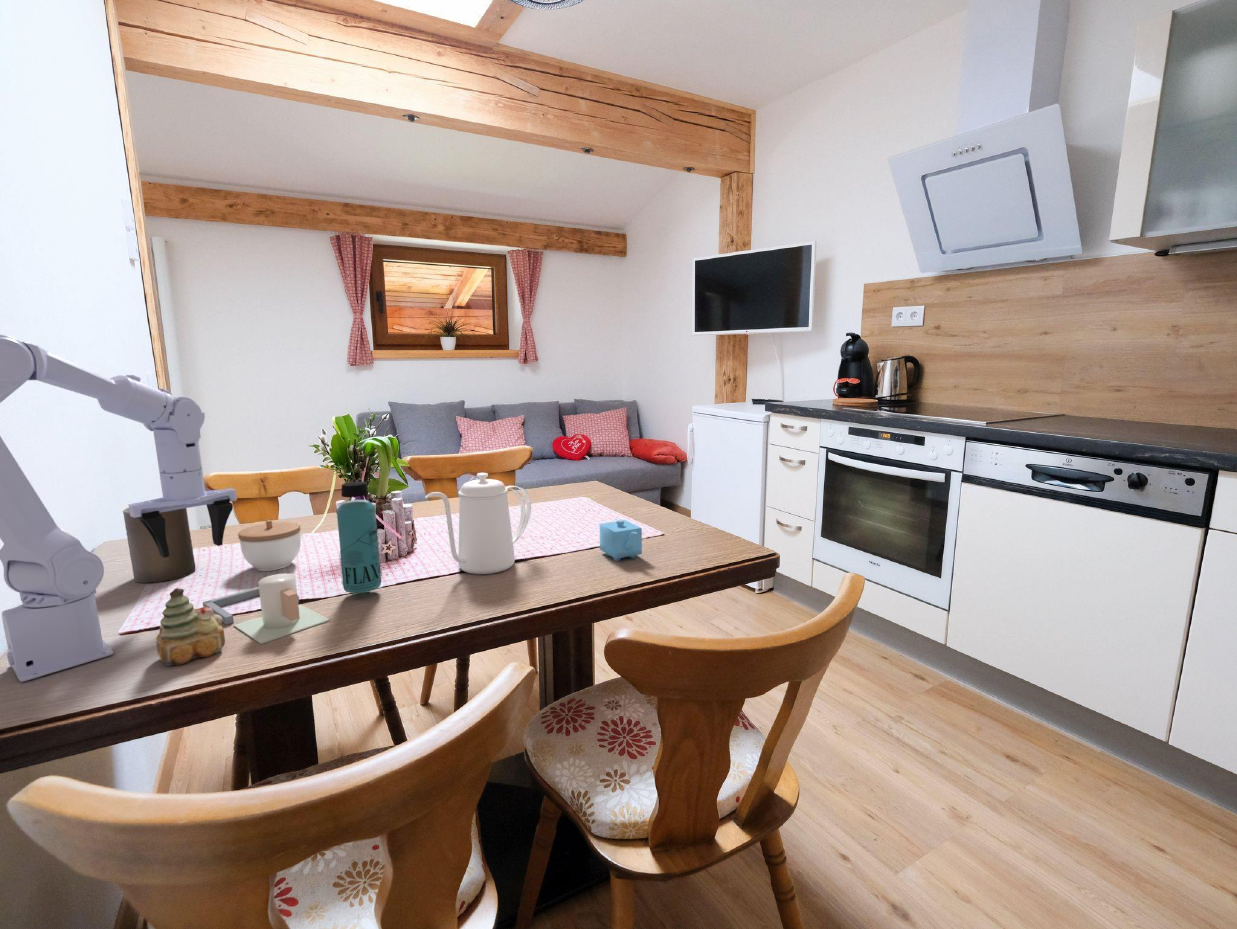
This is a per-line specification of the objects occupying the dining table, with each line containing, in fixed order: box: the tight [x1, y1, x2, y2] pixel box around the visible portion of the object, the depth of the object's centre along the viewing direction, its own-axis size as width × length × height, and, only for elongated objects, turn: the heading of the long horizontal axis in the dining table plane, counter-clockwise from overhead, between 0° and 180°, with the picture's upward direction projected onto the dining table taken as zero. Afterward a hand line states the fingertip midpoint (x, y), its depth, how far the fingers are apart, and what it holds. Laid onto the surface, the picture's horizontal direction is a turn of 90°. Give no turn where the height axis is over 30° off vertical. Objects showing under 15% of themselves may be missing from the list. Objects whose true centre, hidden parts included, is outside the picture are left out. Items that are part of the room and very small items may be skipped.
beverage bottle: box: [335, 481, 383, 594], centre depth 104 cm, size 6×7×20 cm
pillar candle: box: [122, 505, 196, 584], centre depth 116 cm, size 10×10×15 cm
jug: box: [258, 573, 300, 629], centre depth 93 cm, size 8×5×7 cm, turn 50°
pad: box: [233, 603, 330, 645], centre depth 94 cm, size 10×10×1 cm
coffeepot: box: [424, 472, 532, 575], centre depth 117 cm, size 11×25×19 cm, turn 143°
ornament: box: [156, 587, 226, 667], centre depth 84 cm, size 8×6×10 cm
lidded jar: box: [237, 519, 302, 572], centre depth 120 cm, size 11×11×9 cm
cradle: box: [202, 586, 300, 626], centre depth 101 cm, size 11×10×1 cm
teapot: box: [599, 519, 643, 562], centre depth 123 cm, size 12×6×8 cm, turn 27°
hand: (192, 550), depth 101 cm, fingers open, 7 cm apart
